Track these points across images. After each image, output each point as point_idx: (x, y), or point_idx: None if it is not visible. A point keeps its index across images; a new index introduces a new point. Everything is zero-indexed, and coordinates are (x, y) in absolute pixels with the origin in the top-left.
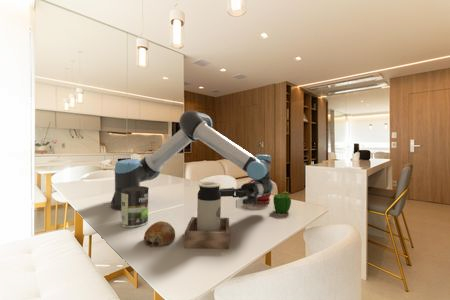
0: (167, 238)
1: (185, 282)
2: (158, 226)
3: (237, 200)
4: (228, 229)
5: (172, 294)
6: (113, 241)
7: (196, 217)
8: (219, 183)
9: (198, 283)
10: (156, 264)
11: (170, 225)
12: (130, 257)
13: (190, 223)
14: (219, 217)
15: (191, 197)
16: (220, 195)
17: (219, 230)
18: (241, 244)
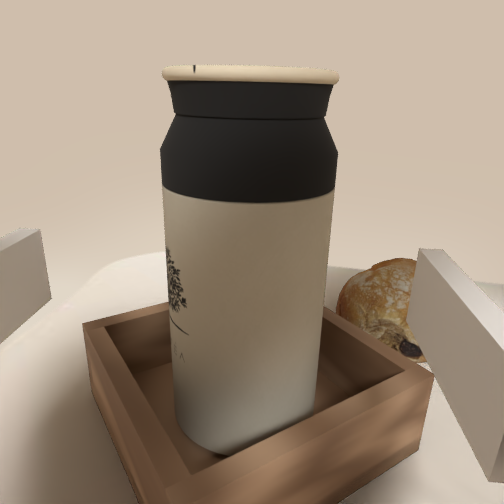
0: (338, 298)
1: (153, 268)
2: (389, 262)
3: (19, 233)
4: (98, 345)
5: (157, 252)
6: (478, 283)
7: (403, 381)
8: (190, 65)
9: (124, 273)
10: None
11: (383, 288)
12: (342, 269)
13: (335, 320)
14: (169, 305)
15: None
16: (161, 160)
17: (173, 382)
18: (25, 455)
